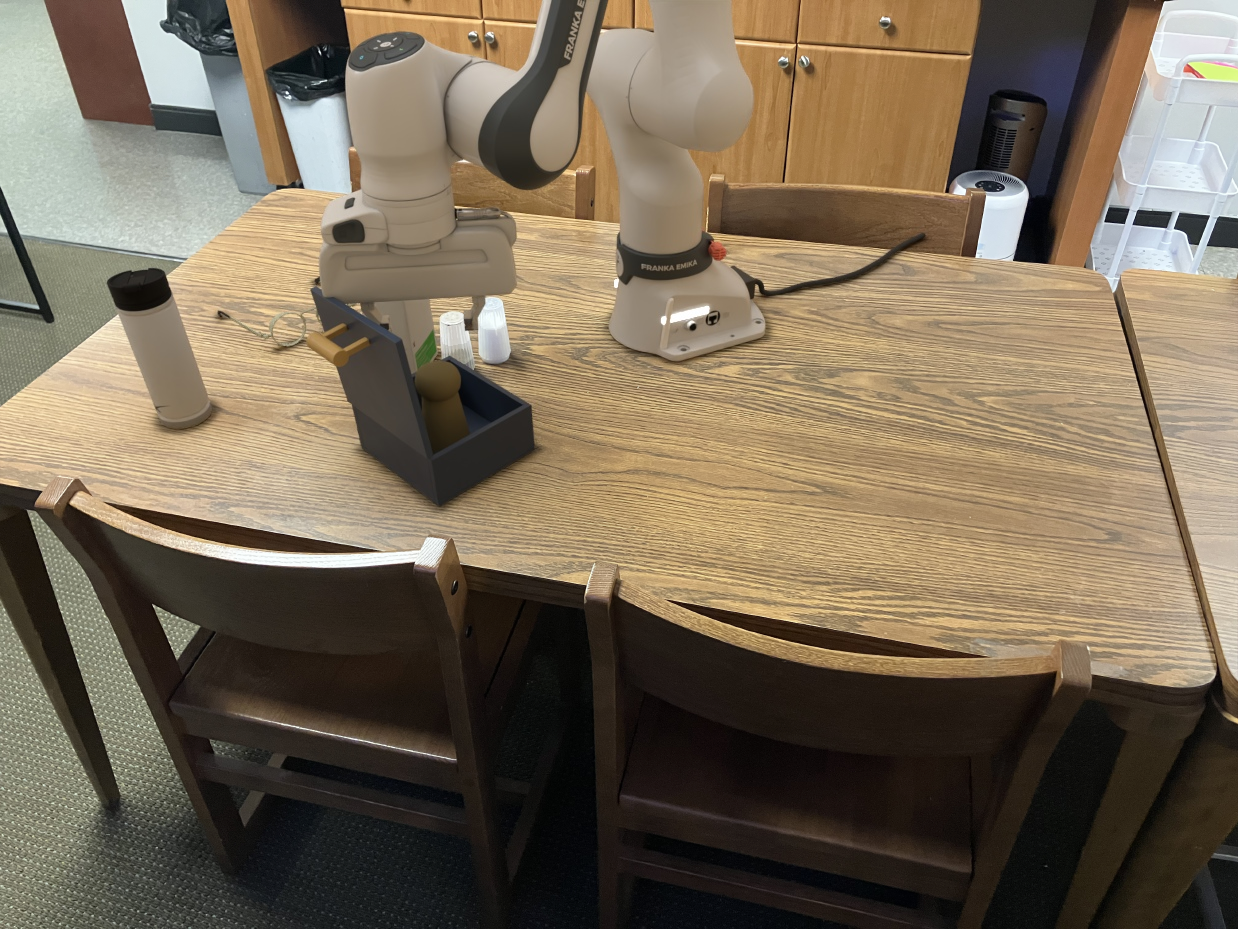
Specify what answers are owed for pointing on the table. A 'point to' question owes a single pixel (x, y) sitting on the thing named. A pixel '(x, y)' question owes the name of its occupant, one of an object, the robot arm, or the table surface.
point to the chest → (488, 449)
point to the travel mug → (161, 346)
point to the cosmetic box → (412, 329)
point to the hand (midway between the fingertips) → (428, 330)
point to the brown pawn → (441, 404)
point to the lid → (371, 369)
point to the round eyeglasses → (275, 322)
